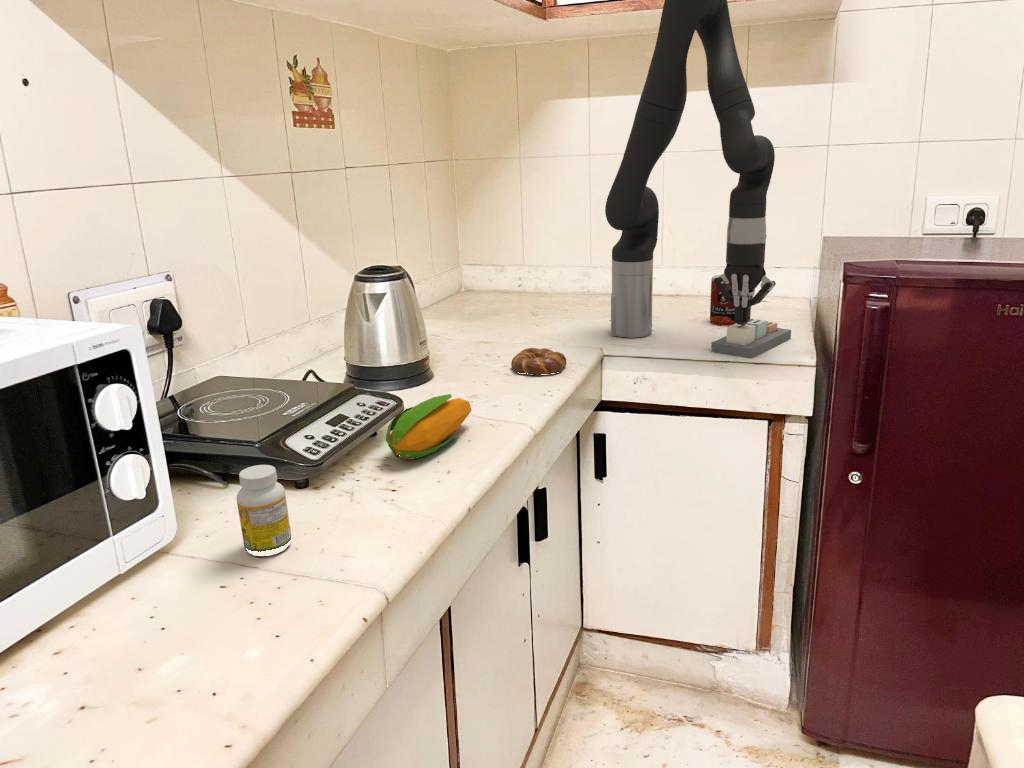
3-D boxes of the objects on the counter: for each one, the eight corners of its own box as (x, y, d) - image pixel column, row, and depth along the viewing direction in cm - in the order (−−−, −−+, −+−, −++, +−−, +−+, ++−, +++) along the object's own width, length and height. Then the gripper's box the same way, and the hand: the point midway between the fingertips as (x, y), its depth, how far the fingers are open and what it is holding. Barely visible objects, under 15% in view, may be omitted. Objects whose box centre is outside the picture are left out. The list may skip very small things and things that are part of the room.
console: (711, 351, 161) (711, 342, 160) (752, 333, 174) (752, 324, 174) (751, 358, 155) (752, 348, 155) (790, 338, 168) (791, 329, 168)
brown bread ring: (498, 368, 156) (498, 350, 155) (542, 358, 162) (542, 341, 161) (532, 382, 147) (531, 363, 146) (577, 371, 152) (577, 353, 151)
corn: (370, 415, 109) (447, 375, 126) (372, 463, 111) (447, 418, 128) (413, 425, 106) (486, 384, 122) (414, 475, 108) (485, 428, 125)
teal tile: (738, 337, 164) (739, 321, 163) (747, 333, 167) (748, 317, 166) (757, 340, 161) (758, 324, 160) (765, 336, 164) (766, 320, 163)
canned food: (706, 324, 183) (707, 279, 180) (714, 317, 190) (716, 273, 187) (738, 327, 180) (741, 280, 177) (745, 319, 187) (748, 274, 183)
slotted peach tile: (749, 339, 168) (750, 323, 167) (758, 335, 171) (759, 319, 170) (768, 342, 166) (769, 326, 165) (776, 338, 169) (777, 322, 167)
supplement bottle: (290, 555, 87) (279, 478, 85) (241, 561, 87) (229, 484, 84) (294, 532, 93) (283, 459, 90) (248, 538, 92) (236, 464, 89)
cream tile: (726, 343, 160) (727, 326, 159) (735, 339, 163) (736, 322, 162) (745, 346, 157) (746, 329, 156) (754, 342, 160) (755, 325, 159)
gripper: (707, 240, 155) (704, 323, 161) (769, 243, 147) (764, 331, 152) (724, 236, 161) (721, 317, 166) (785, 239, 152) (780, 324, 157)
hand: (742, 324), depth 159 cm, fingers closed
